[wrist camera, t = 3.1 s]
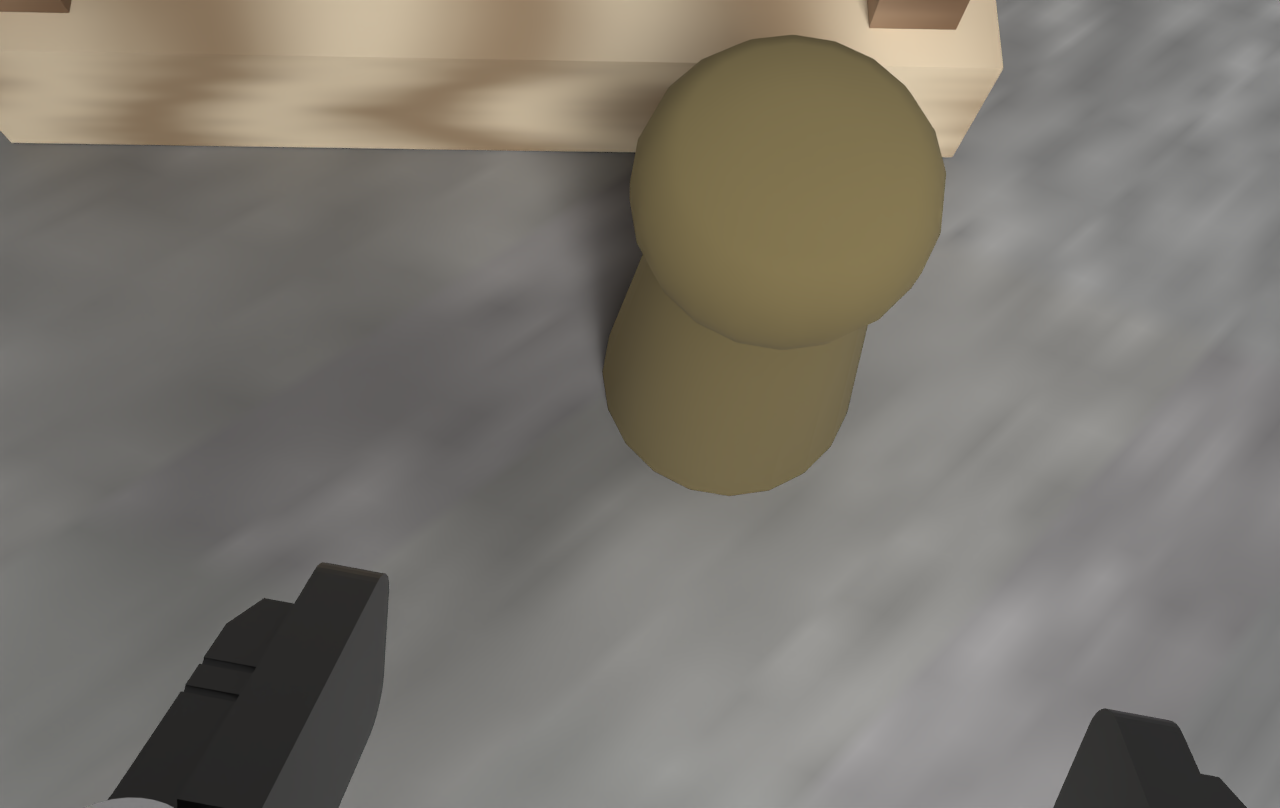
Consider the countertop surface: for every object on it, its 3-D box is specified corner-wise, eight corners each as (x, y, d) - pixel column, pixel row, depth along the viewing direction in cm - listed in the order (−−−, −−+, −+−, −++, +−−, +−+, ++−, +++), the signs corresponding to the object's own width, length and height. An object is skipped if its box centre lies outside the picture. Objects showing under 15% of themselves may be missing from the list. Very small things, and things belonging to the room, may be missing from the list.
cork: (698, 216, 30) (752, -91, 19) (898, 351, 29) (1072, 106, 18) (551, 397, 28) (524, 172, 17) (759, 546, 27) (860, 404, 17)
